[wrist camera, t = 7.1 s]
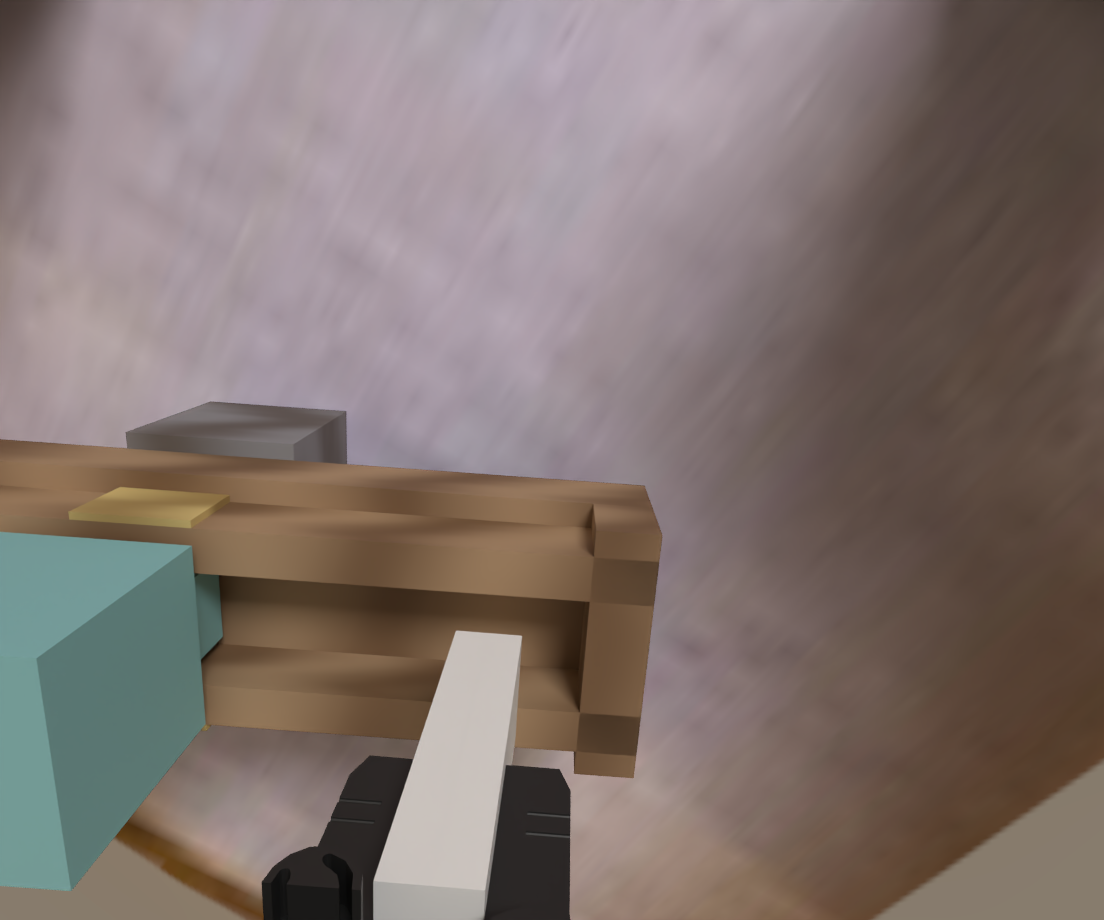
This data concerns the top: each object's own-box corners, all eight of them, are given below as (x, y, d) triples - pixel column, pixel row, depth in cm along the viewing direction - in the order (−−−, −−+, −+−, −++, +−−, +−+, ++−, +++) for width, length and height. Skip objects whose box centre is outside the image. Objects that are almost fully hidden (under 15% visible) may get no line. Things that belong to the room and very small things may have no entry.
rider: (232, 516, 19) (36, 658, 12) (242, 677, 20) (71, 891, 13) (49, 502, 19) (-255, 637, 12) (71, 665, 20) (-191, 871, 13)
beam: (631, 431, 25) (694, 590, 13) (611, 627, 27) (648, 931, 15) (-73, 381, 25) (-710, 489, 13) (-39, 579, 27) (-554, 841, 15)
